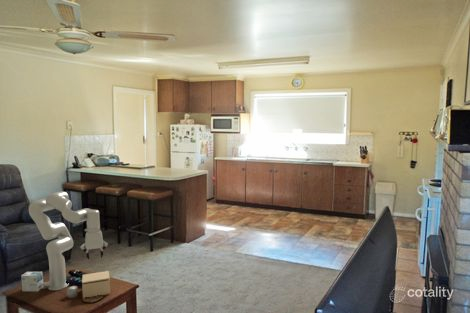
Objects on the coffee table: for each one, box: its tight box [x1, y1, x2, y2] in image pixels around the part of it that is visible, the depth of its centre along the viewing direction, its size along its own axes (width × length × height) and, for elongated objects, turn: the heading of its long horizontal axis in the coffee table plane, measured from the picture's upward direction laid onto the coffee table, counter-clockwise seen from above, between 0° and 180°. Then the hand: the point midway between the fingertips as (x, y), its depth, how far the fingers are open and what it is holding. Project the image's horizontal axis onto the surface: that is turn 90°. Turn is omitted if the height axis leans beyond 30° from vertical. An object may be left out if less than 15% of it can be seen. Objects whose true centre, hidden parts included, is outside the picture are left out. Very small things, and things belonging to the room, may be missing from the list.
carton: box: [81, 278, 111, 299], centre depth 231 cm, size 16×14×9 cm
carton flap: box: [81, 270, 111, 283], centre depth 231 cm, size 16×14×1 cm
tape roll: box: [66, 285, 79, 299], centre depth 226 cm, size 6×6×5 cm
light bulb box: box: [20, 271, 45, 292], centre depth 235 cm, size 11×7×11 cm, turn 87°
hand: (95, 257), depth 226 cm, fingers open, 7 cm apart
